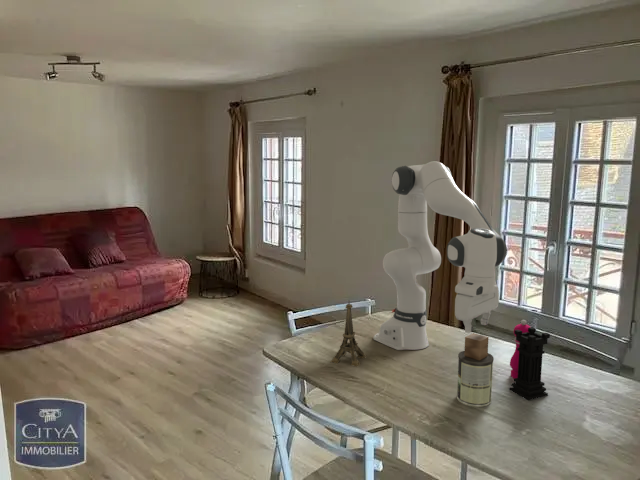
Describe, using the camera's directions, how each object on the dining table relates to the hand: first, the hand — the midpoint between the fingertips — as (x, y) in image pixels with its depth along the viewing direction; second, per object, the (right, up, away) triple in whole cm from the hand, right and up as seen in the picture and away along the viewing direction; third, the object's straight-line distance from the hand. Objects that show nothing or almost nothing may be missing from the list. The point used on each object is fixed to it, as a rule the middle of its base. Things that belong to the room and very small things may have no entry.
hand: (476, 328), depth 157 cm
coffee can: (0, -23, +4) cm, 23 cm away
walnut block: (0, -9, +1) cm, 9 cm away
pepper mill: (+21, -20, +20) cm, 35 cm away
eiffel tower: (-37, -18, +36) cm, 54 cm away
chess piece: (+19, -22, +8) cm, 30 cm away
